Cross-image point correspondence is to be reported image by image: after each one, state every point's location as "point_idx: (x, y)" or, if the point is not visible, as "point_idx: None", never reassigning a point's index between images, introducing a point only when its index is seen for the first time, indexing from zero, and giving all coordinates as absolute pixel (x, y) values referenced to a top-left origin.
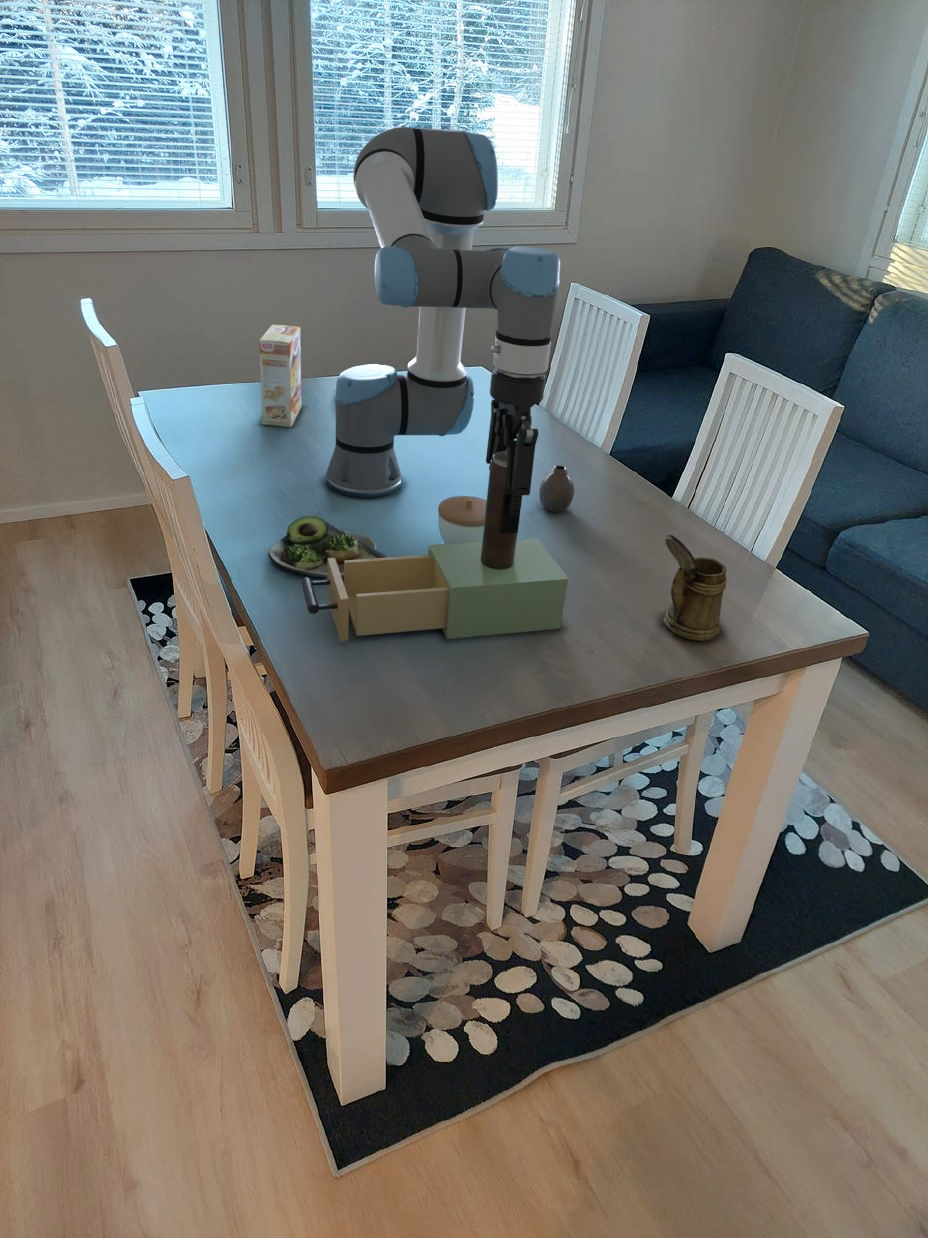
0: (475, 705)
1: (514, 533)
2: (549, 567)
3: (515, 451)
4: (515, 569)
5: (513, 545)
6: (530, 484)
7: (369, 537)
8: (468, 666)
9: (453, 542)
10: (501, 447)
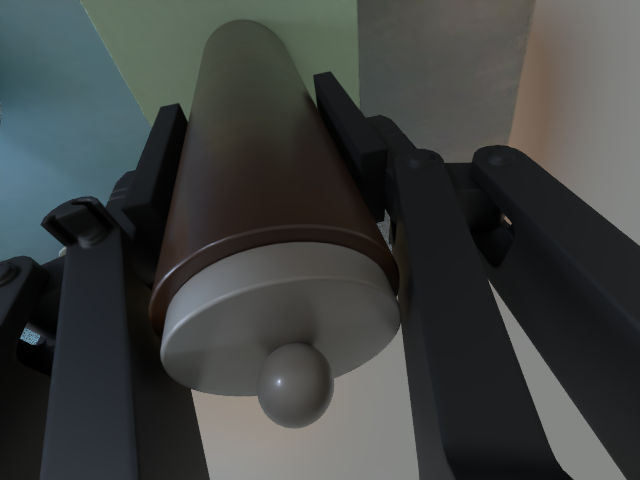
0: (480, 99)
1: (294, 69)
2: None
3: (623, 463)
4: (289, 22)
5: (286, 53)
6: (557, 183)
7: (64, 248)
8: (402, 101)
9: (1, 118)
10: (181, 418)
